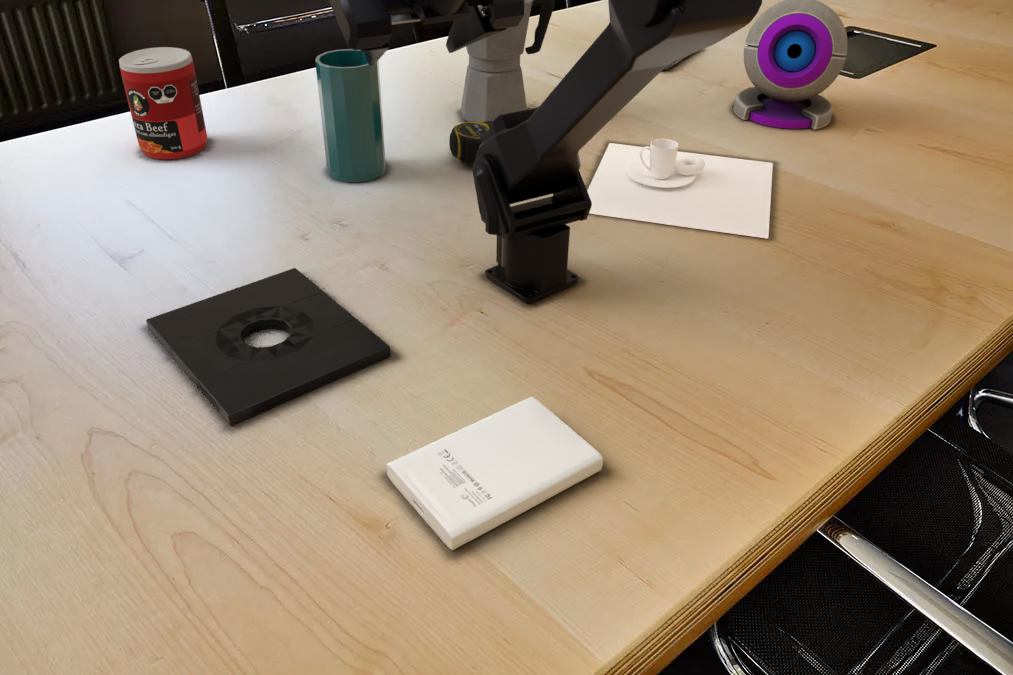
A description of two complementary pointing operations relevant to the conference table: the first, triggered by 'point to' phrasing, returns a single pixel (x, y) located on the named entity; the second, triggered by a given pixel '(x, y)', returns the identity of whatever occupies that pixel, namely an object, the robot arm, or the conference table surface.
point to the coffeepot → (501, 68)
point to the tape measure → (467, 140)
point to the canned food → (164, 102)
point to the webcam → (792, 65)
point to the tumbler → (351, 115)
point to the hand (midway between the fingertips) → (409, 55)
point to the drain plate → (265, 370)
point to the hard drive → (493, 471)
